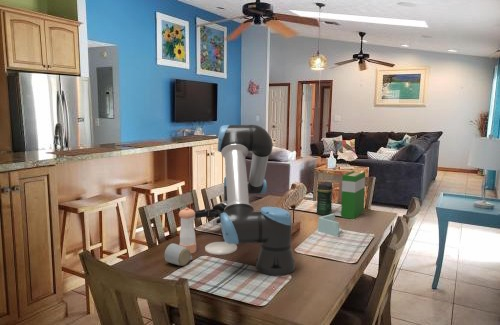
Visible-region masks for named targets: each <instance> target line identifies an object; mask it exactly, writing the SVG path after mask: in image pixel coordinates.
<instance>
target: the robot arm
mask: <svg viewBox="0 0 500 325" xmlns="http://www.w3.org/2000/svg"><path fill="white" fill-rule="evenodd" d="M273 145H274V143H273V139H272V137H271V135H270V134H269V132H268V131H267V130H266V129H265V128H263V127H262V126H260V125H257V124H226V125H225V124H224V125H221V126H220V127H219V131H218V140H217V151H218V153H219V152H220V153H221V156H222V157H223V158H224V162H225V163H224V166H225V177H224V178H223V179H224V180H223V201H221V202H219V203H217V204H215V205H213V207H212V208H211V209H207V208H203V209H200V210H194V212H195V216H194V220H196V219H200V218H206V219H207V218H213V219H211V220H210V222H211V225H210V226H211V227H215V226H217V225H218V224H220V226H221V231H222V232H221V233H222V238H223V240H224V241H223V242H226V243H228V244H236V245H239V244H241V245H242V244H244V245H245V244H260V249H259V252H258V254H257V258H256V260H255V268H256V270H257V271H259V272H260V273H262V274H264V275H269V276H285V275H288V274H289V275H290V274H291V273H293V272H294V271H295V270H296V260H295V259H294V256H293V255H294V254H293V252H292V226H293V225H292V214H291V213H290V212H289V211H288V210H286V209H284V208H281V207H275V206H263V207H261V208H260V211H255V210H254V206H253V205H251V204H250V198H249V195H255V194H256V195H260V194H266V193H267V190H268V188H267V187H268V185H267V184H268V183H267V180H266V179H265V177H266V176H265V175H266V170H267V166H268V161H269V156H270V155H271V154H272V152H273ZM249 152H252V153H251V154H252V155H251V156H252V157H251V162H250V170H249V178H248V172H247V163H246V161H247V160H246V157H247V155H249Z"/></svg>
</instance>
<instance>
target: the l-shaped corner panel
mask: <svg viewBox="0 0 500 325" xmlns="http://www.w3.org/2000/svg"><path fill="white" fill-rule="evenodd" d="M335 219H336V213H331V214H330V215H324V216H320V217H318V221H317V226H318V227H317V231H318V232H320V233H323V234H326V235H330V236H332V237H336V238H339V237H340V234H343V228H341V227H340V222H339V221H336V220H335Z"/></svg>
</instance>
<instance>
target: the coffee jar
mask: <svg viewBox="0 0 500 325" xmlns="http://www.w3.org/2000/svg"><path fill="white" fill-rule="evenodd" d="M332 195H333V183H331V182H329V181H323V182H321V183H319V184H318V185H317V196H316V198H317V199H316V214H317V215H319V216H321V217H323V216H326V215H330V214H332V204H333V203H332V202H333V201H332V200H333V196H332Z"/></svg>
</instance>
